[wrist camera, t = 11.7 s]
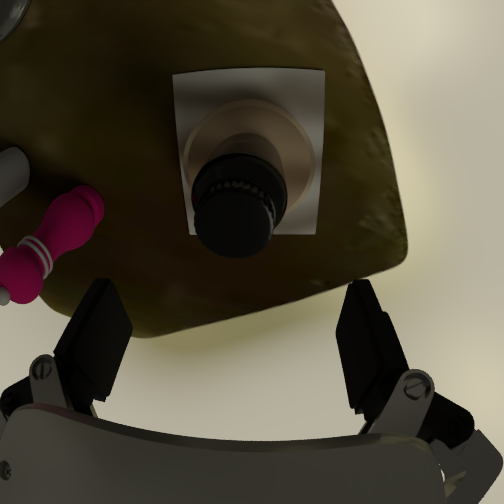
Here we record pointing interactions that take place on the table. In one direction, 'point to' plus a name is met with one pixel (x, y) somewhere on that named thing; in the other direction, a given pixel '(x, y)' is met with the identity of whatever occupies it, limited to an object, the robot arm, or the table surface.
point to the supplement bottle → (239, 196)
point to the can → (13, 173)
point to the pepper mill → (49, 244)
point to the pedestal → (256, 128)
